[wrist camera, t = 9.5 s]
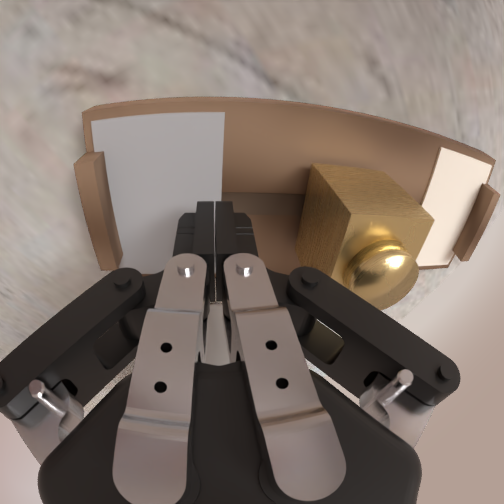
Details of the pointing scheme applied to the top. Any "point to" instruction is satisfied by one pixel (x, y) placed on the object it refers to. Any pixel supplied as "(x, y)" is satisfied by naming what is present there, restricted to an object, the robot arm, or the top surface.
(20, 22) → the top surface
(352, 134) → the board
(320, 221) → the brass knob
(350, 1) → the top surface
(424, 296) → the top surface
